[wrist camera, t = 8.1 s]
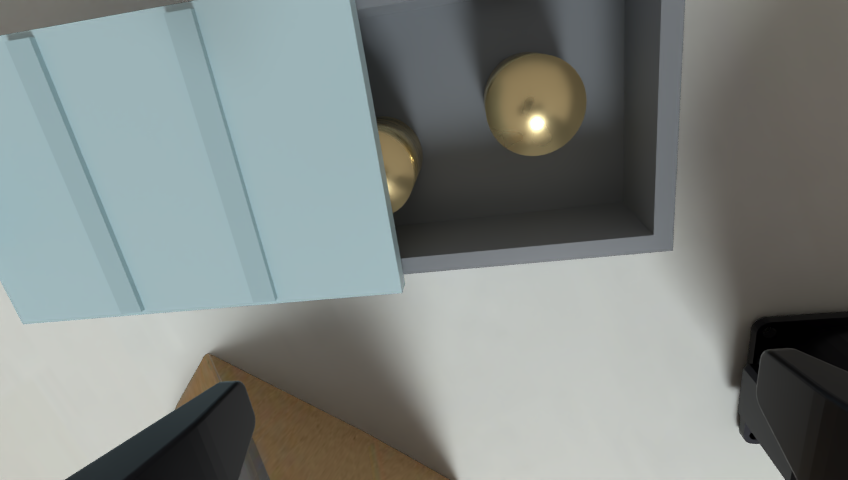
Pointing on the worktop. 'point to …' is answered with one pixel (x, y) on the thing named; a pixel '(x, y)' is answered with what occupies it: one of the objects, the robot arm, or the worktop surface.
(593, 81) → the tub
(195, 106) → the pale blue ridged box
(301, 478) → the sandwich container
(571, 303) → the worktop surface
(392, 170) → the brass slug
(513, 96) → the brass slug
